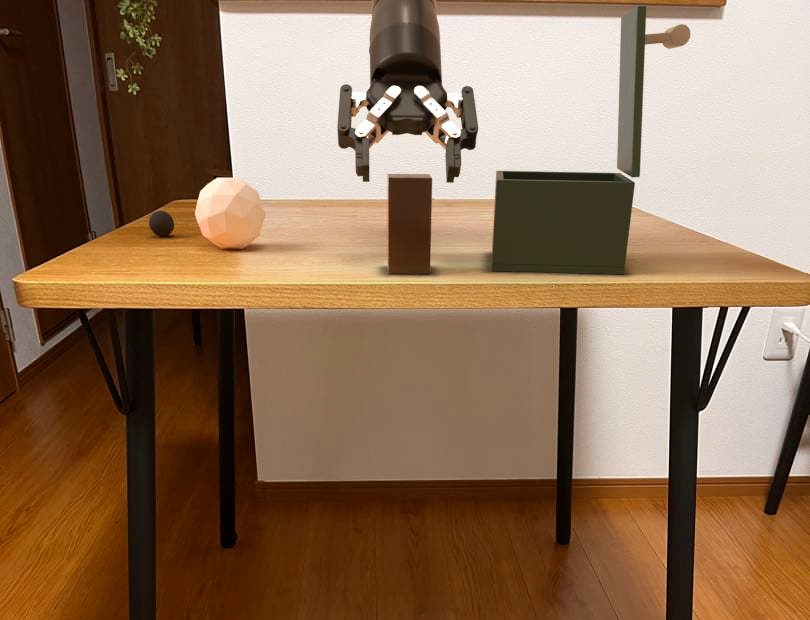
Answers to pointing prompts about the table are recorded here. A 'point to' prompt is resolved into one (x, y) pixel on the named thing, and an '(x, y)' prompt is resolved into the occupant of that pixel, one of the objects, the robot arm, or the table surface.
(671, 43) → the bin lid
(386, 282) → the table surface
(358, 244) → the table surface
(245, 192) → the geometric ball
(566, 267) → the bin
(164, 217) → the marker ball
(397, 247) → the block
